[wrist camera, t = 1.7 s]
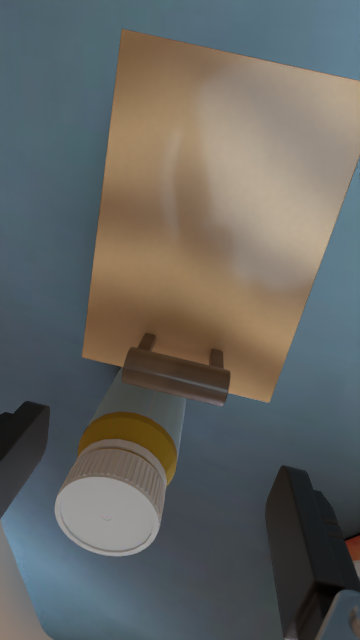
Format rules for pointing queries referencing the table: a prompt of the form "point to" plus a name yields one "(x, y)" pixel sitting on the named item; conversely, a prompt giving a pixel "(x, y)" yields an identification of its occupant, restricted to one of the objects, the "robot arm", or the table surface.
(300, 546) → the robot arm
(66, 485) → the bottle
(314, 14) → the table surface
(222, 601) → the table surface
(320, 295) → the table surface
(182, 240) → the gift box lid
